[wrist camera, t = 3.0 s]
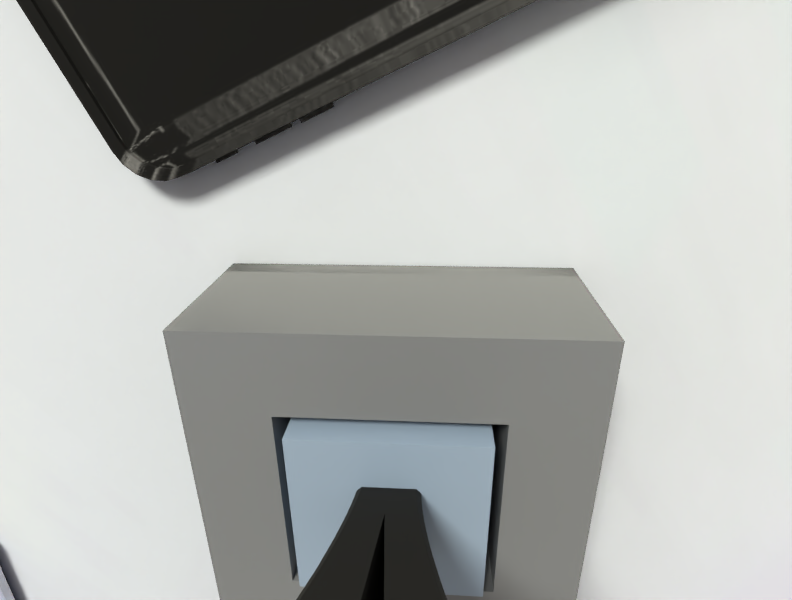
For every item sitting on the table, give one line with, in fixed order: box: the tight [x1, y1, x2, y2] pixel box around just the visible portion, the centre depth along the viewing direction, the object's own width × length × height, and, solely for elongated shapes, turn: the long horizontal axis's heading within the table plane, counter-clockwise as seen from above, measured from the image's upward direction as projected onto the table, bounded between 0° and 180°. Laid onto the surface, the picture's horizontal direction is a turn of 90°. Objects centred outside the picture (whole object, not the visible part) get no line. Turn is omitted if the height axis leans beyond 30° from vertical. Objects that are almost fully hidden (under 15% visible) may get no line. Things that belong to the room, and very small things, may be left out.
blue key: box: [282, 417, 495, 597], centre depth 13 cm, size 4×4×3 cm
